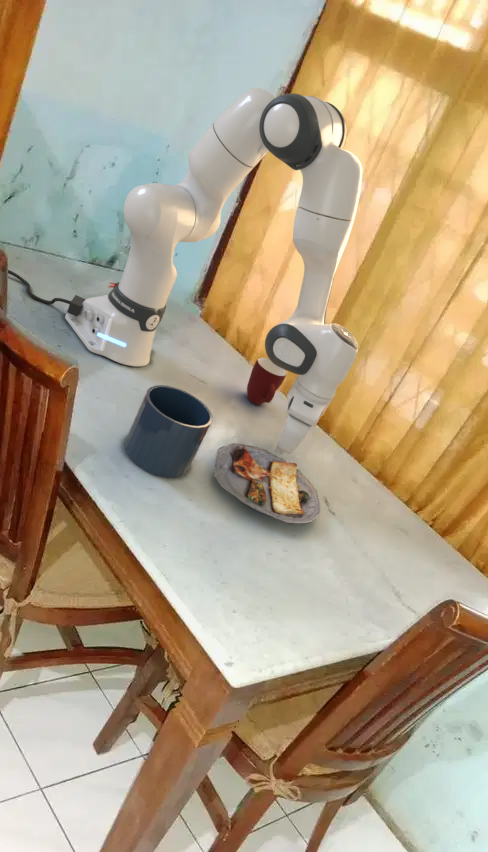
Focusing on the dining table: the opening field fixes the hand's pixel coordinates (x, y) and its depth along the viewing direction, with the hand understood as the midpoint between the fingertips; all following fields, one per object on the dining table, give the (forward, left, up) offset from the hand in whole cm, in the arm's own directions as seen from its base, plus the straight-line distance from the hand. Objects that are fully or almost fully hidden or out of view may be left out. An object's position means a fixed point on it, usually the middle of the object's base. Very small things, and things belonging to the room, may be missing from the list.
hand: (279, 449), depth 159 cm
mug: (-19, +15, -3) cm, 24 cm away
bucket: (-7, -30, -3) cm, 31 cm away
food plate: (+7, -12, -3) cm, 14 cm away
